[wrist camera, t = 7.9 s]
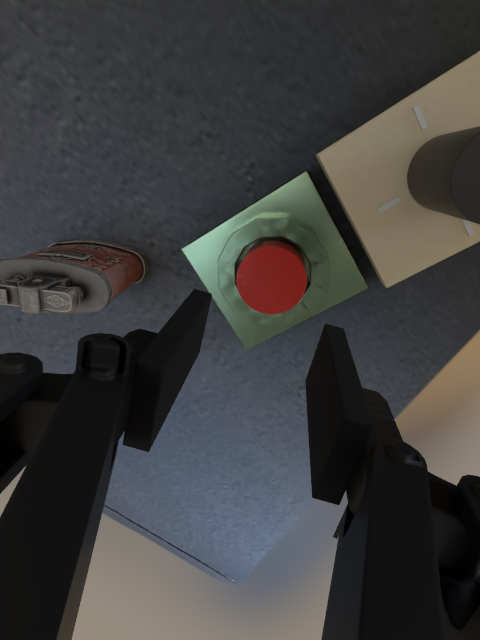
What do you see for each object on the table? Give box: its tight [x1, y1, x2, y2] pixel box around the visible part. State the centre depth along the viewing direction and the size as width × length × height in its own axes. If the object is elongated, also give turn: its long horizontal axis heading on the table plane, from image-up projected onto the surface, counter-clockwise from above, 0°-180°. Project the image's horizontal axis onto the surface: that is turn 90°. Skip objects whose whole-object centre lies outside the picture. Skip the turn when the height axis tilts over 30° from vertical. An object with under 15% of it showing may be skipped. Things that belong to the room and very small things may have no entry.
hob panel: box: [316, 51, 480, 288], centre depth 26 cm, size 11×10×3 cm
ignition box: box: [181, 171, 368, 350], centre depth 28 cm, size 10×9×4 cm
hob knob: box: [407, 126, 480, 224], centre depth 21 cm, size 4×4×8 cm
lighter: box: [0, 239, 149, 314], centre depth 27 cm, size 8×3×10 cm, turn 85°
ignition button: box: [236, 241, 307, 314], centre depth 26 cm, size 4×4×2 cm
